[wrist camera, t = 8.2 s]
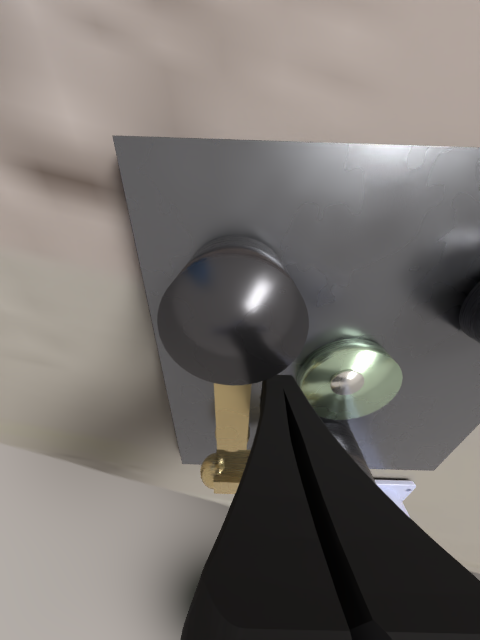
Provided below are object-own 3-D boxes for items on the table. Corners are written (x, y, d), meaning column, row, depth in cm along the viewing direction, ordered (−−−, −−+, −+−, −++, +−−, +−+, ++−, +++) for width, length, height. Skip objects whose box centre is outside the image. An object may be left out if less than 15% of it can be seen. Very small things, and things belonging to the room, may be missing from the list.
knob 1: (177, 233, 8) (143, 254, 5) (296, 237, 8) (324, 260, 5) (197, 409, 13) (185, 467, 10) (269, 411, 13) (276, 469, 10)
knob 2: (362, 423, 14) (393, 482, 11) (343, 459, 16) (364, 516, 13) (203, 419, 14) (193, 476, 11) (207, 456, 16) (199, 511, 13)
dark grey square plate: (422, 454, 18) (446, 488, 16) (185, 448, 18) (178, 481, 16) (674, 161, 8) (829, 149, 6) (129, 143, 8) (89, 125, 6)
